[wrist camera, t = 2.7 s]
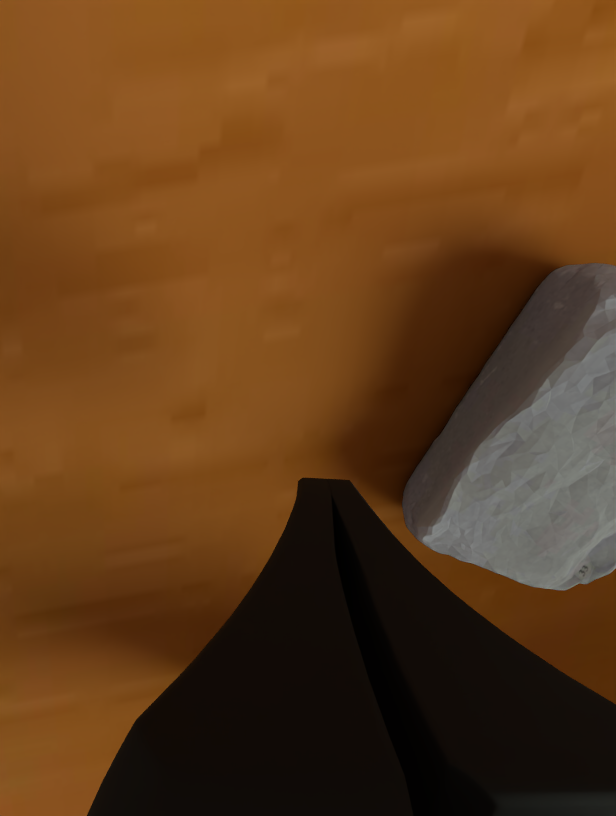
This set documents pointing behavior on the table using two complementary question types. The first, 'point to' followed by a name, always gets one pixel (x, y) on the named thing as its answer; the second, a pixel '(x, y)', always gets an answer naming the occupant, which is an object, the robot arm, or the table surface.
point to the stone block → (532, 445)
